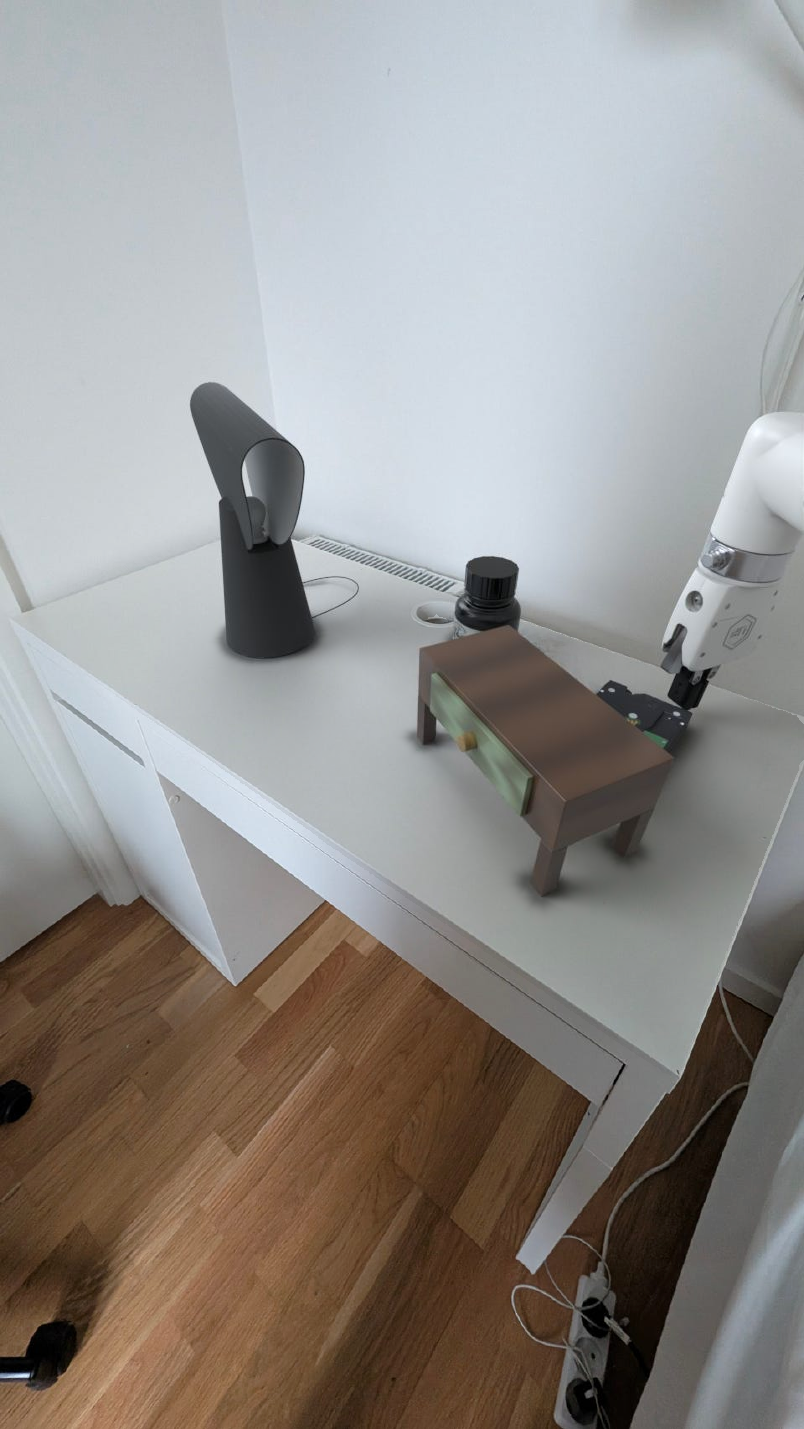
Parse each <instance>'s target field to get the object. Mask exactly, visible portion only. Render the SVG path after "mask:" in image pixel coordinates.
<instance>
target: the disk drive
mask: <svg viewBox="0 0 804 1429" xmlns="http://www.w3.org/2000/svg"><path fill="white" fill-rule="evenodd" d="M595 695H597V696H598V697H599V698H600V699H602V700H603V701H604V702H605V703H607V704H608V705H609V706H610V707H612V708H613V709H614V710H615V711H617V712H618V713H619V714H620V715H622V716H623V717H624V718H625V719H627V720H628V721H629V722H630V723H632V724H633V725H634V726H635V727H637V728H638V729H639V730H640V731H642V732H643V733H644V734H645V735H647V736H648V737H649V738H650V739H652V740H653V741H654V742H655V743H657V744H658V745H659V746H660V747H662V748H663V749H664V750H665V751H667V752H668V753H669V754H670V752H671V750H673V748H674V747H675V745H676V744H677V742H679V740H680V739H681V737H682V736H683V734H684V733H685V731H686V730H687V728H688V726H689V723H690V721H691V718H692V717H693V712H692V711H690V710H685V709H683V708H681V707H680V706H678V705H673V704H672V703H669V702H667V701H664V700H662V699H660V698H658V697H656V696H655V697H654V696H652V695H650V694H647V693H633V692H632V691H631V690H630V689H628V686H627V685H624V684H622V683H621V682H620V683H619V682H617V681H614V680H612V679H609V680H608V681H607V682H606V683H605V684H604V685H603V686H602V687H601V688H600V689H599V690H598V692H597V693H595Z"/></svg>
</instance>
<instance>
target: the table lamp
mask: <svg viewBox="0 0 804 1429" xmlns="http://www.w3.org/2000/svg"><path fill="white" fill-rule="evenodd" d="M189 408H190V414H191V418H192V420H193V424H194V426H195V429H196V433H197V435H198V438H199V441H200V444H201V447H202V450H203V453H204V456H205V458H206V461H207V463H208V467H209V470H210V472H211V475H212V478H213V480H214V482H215V485H216V488H217V491H218V493H219V495H220V497H221V498H220V499H219V501H218V514H219V516H218V517H219V531H220V532H219V533H220V549H221V550H220V552H221V570H222V586H223V587H222V588H223V603H224V620H225V621H224V622H225V623H224V624H225V638H226V644H227V646H228V647H229V648H230V649H231V650H232V651H234V652H235V653H237V654H239V655H242V656H244V657H245V656H246V657H250V658H255V659H257V658H258V659H269V658H279V657H283V656H286V655H290V654H294V653H295V652H296V653H297V652H298V651H299V650H302V649H303V648H305V647H306V646H308V645H309V644H310V643H311V642H312V641H313V639H314V637H315V635H316V629H315V628H316V627H315V624H314V622H313V619H314V618H317V617H319V616H321V615H324V614H326V613H328V612H330V611H333V610H335V609H337V608H340V607H341V606H343V605H345V604H346V603H348V602H349V601H351V600H352V599H353V598H354V597H356V596H357V594H358V593H359V589H360V586H359V584H358V583H357V582H356V581H355V580H354V579H353V578H349V577H347V576H338V575H337V576H336V575H334V576H333V575H332V576H323V577H318V578H315V579H309V580H307V581H303V579H302V575H301V571H300V568H299V564H298V563H299V562H298V559H297V556H296V552H295V549H294V544H293V541H292V535H293V533H294V531H295V529H296V525H297V522H298V519H299V516H300V512H301V511H300V510H301V506H302V502H303V501H302V500H303V493H304V486H305V477H306V468H305V467H306V466H305V460H304V458H303V456H302V454H301V452H300V451H299V449H298V448H297V447H296V446H295V445H294V444H293V443H291V442H290V441H289V440H288V439H287V438H286V437H285V436H284V435H282V434H281V433H280V432H279V431H277V429H275V428H274V427H273V426H272V425H270V423H268V422H267V421H266V420H265V419H264V418H263V417H262V416H260V414H258V413H257V412H256V411H255V410H253V408H251V407H250V406H249V405H247V404H246V403H245V402H244V401H243V400H242V399H241V398H240V397H238V396H237V395H236V394H235V393H234V392H232V391H231V390H230V389H229V387H227V386H225V385H223V384H221V383H220V382H219V383H218V382H215V381H208V382H204V383H202V384H199V385H198V386H197V387H196V388H194V390H193V392H192V394H191V396H190V400H189ZM244 464H245V468H246V474H247V478H248V484H249V487H250V491H251V496H250V495H248V496H247V492H246V489H245V483H244V478H243V466H244ZM330 578H340V579H341V578H342V579H346V580H350V581H352V582H353V583H355V585H356V587H357V590H356V592H355V593H354V595H353V596H352V597H350V598H349V599H347V600H345V601H344V602H342V603H341V604H339V605H337V606H334V607H332V608H330V609H328V610H325V611H324V612H320V613H319V614H316V615H313V616H312V614H311V610H310V606H309V602H308V598H307V594H306V590H305V587H304V584H306V583H310V582H313V581H317V580H318V581H319V580H322V579H330Z"/></svg>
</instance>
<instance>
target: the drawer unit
mask: <svg viewBox="0 0 804 1429" xmlns="http://www.w3.org/2000/svg"><path fill="white" fill-rule="evenodd" d="M418 652H419V653H418V654H419V655H418V683H417V684H418V686H417V688H418V689H417V692H418V693H417V719H416V720H417V721H416V737H417V738H418V740H419V741H420V742H421V744H422V745H426V744H429V743H432V742H435V741H436V735H437V734H436V733H437V721H438V722H439V724H440V725H441V726H442V727H443V728H444V729H445V731H446V732H447V733H448V734H449V735H450V737H451V738H452V739H453V740H454V741H455V742H456V745H457V747H458V749H459V750H460V752H462V753H465V754H466V755H467V756H468V758H469V759H470V760H471V762H473V764H474V765H475V766H476V767H477V769H479V771H480V772H481V773H482V774H483V776H485V777H486V779H487V780H488V781H489V782H490V784H491V785H492V786H493V787H494V789H495V790H496V791H497V792H498V793H499V794H500V796H502V798H503V799H504V800H505V802H506V803H507V804H508V805H509V806H510V807H511V809H513V811H514V812H515V813H516V814H517V815H518V816H519V818H521V817H522V818H523V820H524V821H525V822H526V824H528V825H529V827H530V828H531V829H532V831H533V832H534V833H535V834H536V835H537V836H538V838H540V840H539V841H540V842H539V845H538V849H537V854H536V857H535V861H534V865H533V869H532V874H531V879H530V881H529V882H530V884H531V886H532V887H533V888H534V889H535V891H536V892H537V893H538V894H539V896H540V897H543V896H545V895H547V894H549V893H552V892H553V891H556V889H557V886H558V882H559V880H560V876H561V872H562V869H563V865H564V863H565V859H566V855H567V853H568V852H567V851H568V848H569V846H571V845H574V844H577V843H578V842H581V841H583V840H585V839H587V838H589V837H592V836H595V835H597V834H598V833H602V832H603V831H605V830H607V829H610V828H612V827H615V826H617V825H618V829H617V831H616V834H615V837H614V839H613V842H612V847H613V848H614V849H615V850H616V851H617V853H619V854H620V856H621V857H623V858H626V857H629V856H630V855H633V854H635V853H636V852H638V849H639V847H640V844H641V842H642V840H643V838H644V837H643V836H644V834H645V832H646V829H647V827H648V826H649V823H650V820H651V818H652V815H653V812H654V809H655V807H656V805H657V803H658V800H659V798H660V795H661V794H662V791H663V787H664V786H665V783H666V780H667V778H668V776H669V773H670V771H671V768H672V766H673V764H674V762H675V757H674V756H673V755H672V754H670V752H669V753H668V752H667V751H665V750H664V749H663V748H662V747H660V746H659V745H658V744H657V743H655V742H654V741H653V740H652V739H650V738H649V737H648V736H647V735H645V734H644V733H643V732H642V731H640V730H639V729H638V728H637V727H635V726H634V725H633V724H632V723H630V722H629V721H628V720H627V719H625V718H624V717H623V716H622V715H620V714H619V713H618V712H617V711H615V710H614V709H613V708H612V707H610V706H609V705H608V704H607V703H605V702H604V701H603V700H602V699H600V698H599V697H598V696H597V695H596V693H594V692H593V690H590V689H589V688H588V687H587V686H586V685H585V684H583V683H582V682H580V680H578V679H577V678H575V677H574V676H573V675H572V674H570V673H569V672H568V671H567V670H565V669H564V668H563V667H562V666H561V665H560V664H558V663H557V662H555V660H553V659H552V658H551V657H549V656H548V655H547V654H545V653H544V652H543V651H542V650H540V649H539V648H538V647H537V646H536V645H535V644H533V643H532V642H531V641H529V640H528V639H527V638H526V637H525V636H524V635H522V634H521V633H520V632H519V631H518V632H517V631H516V630H514V629H513V628H512V627H511V626H509V625H506V626H502V627H499V628H495V629H491V630H487V631H483V632H479V633H476V634H472V635H468V636H464V637H460V638H457V639H453V638H452V639H450V640H445V641H441V642H438V643H434V644H430V645H427V646H423V647H419V651H418Z"/></svg>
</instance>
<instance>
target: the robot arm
mask: <svg viewBox="0 0 804 1429" xmlns="http://www.w3.org/2000/svg"><path fill="white" fill-rule="evenodd" d="M803 535H804V412H799V411H774V412H770V413H766V414H764V415H762V416H760V417H758V418H757V419H756V420H754V422H753V423H752V424H751V426H750V427H749V428H748V430H747V433H746V434H745V437H744V439H743V442H742V444H741V448H740V450H739V452H738V455H737V458H736V460H735V463H734V466H733V468H732V471H731V473H730V477H729V479H728V481H727V484H726V486H725V489H724V492H723V494H722V497H721V500H720V503H719V505H718V508H717V510H716V513H715V516H714V519H713V522H712V524H711V527H710V529H709V532H708V535H707V537H706V539H705V542H704V545H703V549H702V551H701V553H700V556H699V558H698V560H697V561H698V562H697V565H698V566H697V567H695V569H694V570H693V572H692V574H691V576H690V578H689V579H688V581H687V582H686V585H685V587H684V588H683V590H682V593H681V594H680V597H679V599H678V601H677V603H676V605H675V607H674V610H673V611H672V614H671V616H670V619H669V621H668V624H667V625H666V626H667V627H666V629H665V632H664V635H663V638H662V643H661V650H662V652H663V653H666V654H665V656H664V658H663V660H662V662H661V664H660V668H661V669H662V670H663V671H664V672H666V673H667V674H668V675H674V677H673V679H672V682H671V685H670V687H669V690H668V691H667V698H668V699H669V700H671V701H672V702H673V703H674V704H676V706H677V707H680V708H683V709H685V710H688V711H690V710H692V709H696V708H698V707H699V705H700V703H701V700H702V699H703V696H704V695H705V692H706V690H707V688H708V686H709V684H710V680H712V679H713V678H714V677H715V676H716V674H718V672H719V669H720V668H721V666H722V665H725V664H727V663H731V662H734V661H737V660H740V659H742V658H744V657H748V656H750V655H751V654H753V652H754V651H756V649H757V647H758V645H759V644H760V642H761V639H762V637H763V635H764V633H765V630H766V628H767V626H768V623H769V622H770V619H771V617H772V614H773V613H774V612H773V611H774V609H775V607H776V604H777V601H778V599H779V595H780V592H781V589H782V586H783V582H784V577H785V572H786V570H787V568H788V566H789V564H790V561H791V560H792V557H793V556H794V553H795V551H796V549H797V547H798V545H799V543H800V541H801V539H802V537H803Z"/></svg>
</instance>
